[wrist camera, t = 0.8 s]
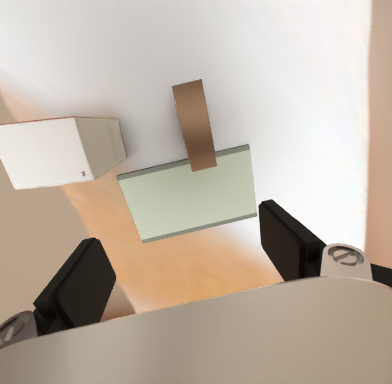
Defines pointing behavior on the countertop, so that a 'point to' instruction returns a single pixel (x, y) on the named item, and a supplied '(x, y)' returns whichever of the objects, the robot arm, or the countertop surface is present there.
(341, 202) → the countertop surface
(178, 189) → the mat
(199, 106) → the slab
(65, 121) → the small box
